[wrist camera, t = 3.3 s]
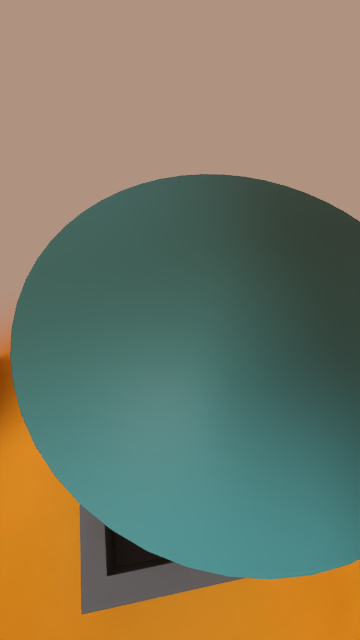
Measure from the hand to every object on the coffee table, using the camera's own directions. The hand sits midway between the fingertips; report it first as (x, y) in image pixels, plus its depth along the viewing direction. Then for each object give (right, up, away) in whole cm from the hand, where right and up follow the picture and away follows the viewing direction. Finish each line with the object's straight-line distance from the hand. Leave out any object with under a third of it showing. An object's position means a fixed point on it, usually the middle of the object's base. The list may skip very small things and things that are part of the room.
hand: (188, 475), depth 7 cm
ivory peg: (-1, -4, +8) cm, 9 cm away
